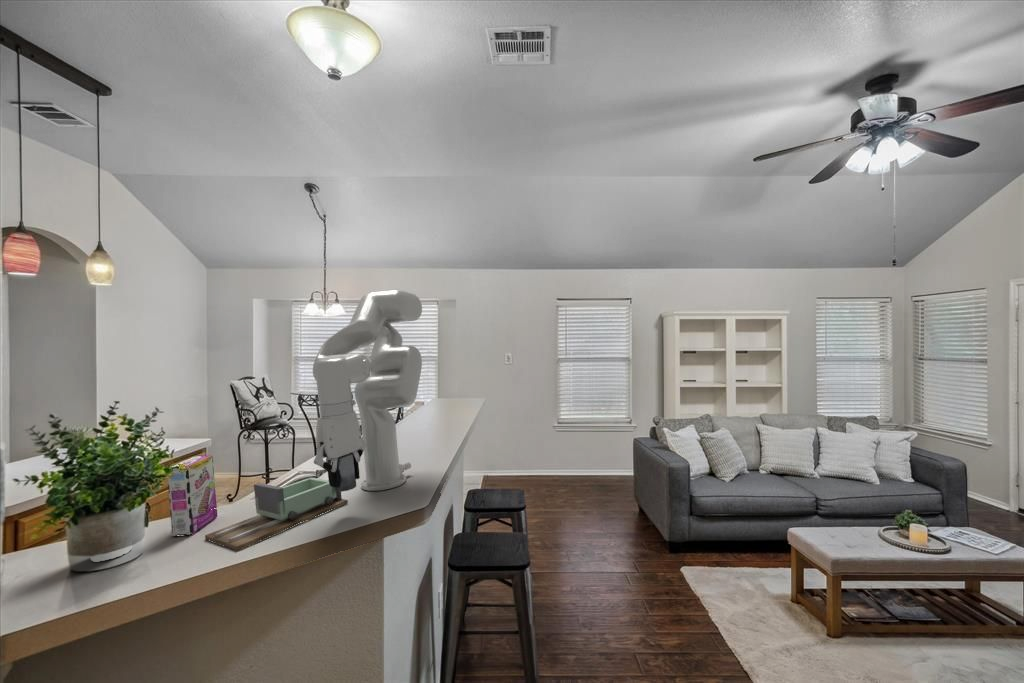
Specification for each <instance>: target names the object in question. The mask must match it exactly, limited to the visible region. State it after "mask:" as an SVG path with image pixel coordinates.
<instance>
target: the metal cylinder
mask: <svg viewBox="0 0 1024 683" xmlns="http://www.w3.org/2000/svg"><path fill="white" fill-rule="evenodd" d="M336 470H337V471H339V477H340V487H338V488H336V487H335V491H338V492H341V493H342V492H348V491H351V490H353V489H355V488H356V487H357V479H356V477H355V468H354V459H353V453H350V454H348V455H345V456H342V457H339V458H338V460H337V468H336Z"/></svg>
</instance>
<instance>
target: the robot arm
mask: <svg viewBox="0 0 1024 683" xmlns="http://www.w3.org/2000/svg"><path fill="white" fill-rule="evenodd" d="M422 313H423V305H422V302H421V300H420V298H419V297H418V296H417V295H416V293H412V292H407V291H403V290H398V289H395V290H394V289H393V290H381V291H374V292H368V293H366V294H365V295H363V296H362V297H361V298H360V300H359V302H358V304H357V307H356V309H355V310H354V313H353V314H352V317H351V319H350V322H349V324H348V325H346V326H345V327H343V328H341V329H340V330H338V331H337V332H336V333H334V334H333V335H331V336H330V337H329V338H328V339H326V340H325V342H323V344H322V345H321V347H320V348H319V350H318V352H317V354H316V356H315V358H314V362H313V366H312V375H313V378H314V380H315V381H316V386H317V387H316V388H317V395H318V397H317V398H318V406H319V413H320V417H317V420H316V421H317V422H316V430H315V434H316V435H315V439H316V441H315V442H316V455H315V458H314V459H313V464H314V465H316V466H319V467H321V468H322V469H324V471H326V472H327V477H328V479H327V480H329V484H330V486H331V487H336V488H338V487H340V477H339V471H337V470H336V468H337V460H338V458H339V457H342V456H345V455H348V454H350V453H353V459H354V468H355V477H356V480H359V479H360V477H361V476H360V467H359V466H360V465H359V463H360V462H361V457H362V455H363V457H364V467H365V468H364V469H365V479H363V480H362V481H361V483H360V487H361V489H362V490H364V491H368V492H369V491H370V492H374V491H376V492H377V491H378V492H379V491H384V490H385V491H386V490H390V489H393V488H396V487H399V486H401V485H403V484H404V483H405V482H406V480H407V478H406V475H405V474H403V473H404V472H405V471H407V470H409V469H411V468H412V464H411V462H405V463H403V464H402V463H400V460H399V448H398V436H397V426H396V421H395V418H394V416H393V414H391V412H390V411H389V410H388V409H393V408H394V409H396V408H406V407H407V408H408V407H410V406H412V405H413V404H414V403H415V401H416V399H417V394H418V391H419V390H418V389H419V384H420V380H421V374H422V367H423V360H422V355H421V354H422V353H421V352H420V350H419V348H418V347H416V346H414V345H403V337H402V335H401V333H400V332H399V331H398V330H397V329H396V328H395V327H394V326H392V324H394V323H404V322H414V321H417V320H419V319H420V317H421V316H422ZM371 344H373V345H372V346H373V347H372V348H371V349H372V350H371V353H370V356H369V357H368V356H367V355H365V354H362V353H352V352H355V351H357V350H360V349H363V348H365V347H367V346H369V345H371ZM352 384H355V386H354V397H355V399H353V394H352V387H351V386H352ZM356 405H357V407H358V412H359V413H358V414H359V418H360V422H359V419H358V415H357V412H356V411H355V410H354V406H356ZM360 425H361V427H360ZM324 459H325V460H324Z"/></svg>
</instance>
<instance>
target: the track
mask: <svg viewBox="0 0 1024 683" xmlns="http://www.w3.org/2000/svg"><path fill="white" fill-rule="evenodd" d="M336 496H337V498H334V499H333V503H332V504H326V503H325V502H324V503H322V504H319V505H317V506H314V507H312V508H309V509H307V510H305V511H302V512H300V513H297V517H296V519H294V520H292V519H289V518H288V517H287V518H285V519H282V520H279V519H275V518H271V517H267V516H264V515H260V514H257V515H255V516H251V517H249V518H247V519H245V520H244V519H243V520H242V521H239V522H236V523H234V524H233V523H232V524H231V525H229V526H226V527H223V528H221V529H218V530H216V531H213V532H210V533H207V534H205V535H204V539H207V540H206V541H208V540H210V541H213V542H216V543H218V544H217V545H219V544H221V545H220V546H222V545H224V546H223V547H225V546H226V547H225V548H227V547H229V548H228V549H230V548H232V549H231V550H233V549H234V550H233V551H236V552H239V551H241V550H243V548H244V549H246V548H248V547H250V546H249V545H251V546H252V544H253V545H255V544H257V543H256V542H258V541H260V540H262V541H264V540H263V539H265V538H267V537H269V536H272V535H274V534H276V535H278V534H277V533H279V532H281V531H283V530H285V529H287V528H290V527H292V526H294V525H296V524H298V523H300V522H303V521H306V520H309V519H311V518H313V517H315V516H318V515H320V514H322V513H325V512H327V511H329V510H331V509H334V508H337V507H339V508H341V507H343V506H342V505H344V506H345V504H346V505H348V504H349V500H348V499H345V498H342V492H338V491H336ZM347 503H348V504H347ZM340 506H341V507H340ZM337 509H338V508H337ZM325 514H326V513H325ZM318 517H319V516H318ZM311 520H312V519H311ZM309 521H310V520H309ZM290 529H291V528H290ZM283 532H284V531H283ZM281 533H282V532H281ZM279 534H280V533H279ZM274 536H275V535H274ZM272 537H273V536H272ZM269 538H270V537H269ZM267 539H268V538H267ZM265 540H266V539H265ZM210 541H209V542H210ZM213 542H212V543H213ZM260 542H261V541H260ZM216 543H215V544H216ZM254 543H255V544H254ZM258 543H259V542H258ZM247 546H248V547H247ZM245 547H246V548H245Z"/></svg>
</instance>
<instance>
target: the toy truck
mask: <svg viewBox="0 0 1024 683" xmlns="http://www.w3.org/2000/svg"><path fill="white" fill-rule="evenodd" d="M253 489H254V490H253V491H254V500H255V502H254V503H255V512H256V514H257V515H264V516H267V517H271V518H275V519H279V520H282V519H285V518H287V517H288V518H289V519H292V520H294V519H296V517H297V513H300V512H302V511H305V510H307V509H309V508H312V507H314V506H317V505H319V504H322V503H324V502H325V503H326V504H332V503H333V499H334V498H337V496H336V491H335V487H331V486H330V484H329V479H322V478H316V477H307V478H305V479H302V480H300V481H297V482H293V483H290V484H289V485H288V484H287V485H285V486H283V487H282V486H281V487H280V486H277V485H271V484H267V483H265V484H264V483H261V482H257V483H254V484H253Z"/></svg>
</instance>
